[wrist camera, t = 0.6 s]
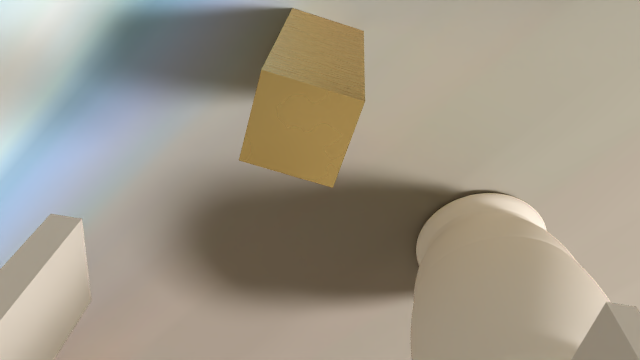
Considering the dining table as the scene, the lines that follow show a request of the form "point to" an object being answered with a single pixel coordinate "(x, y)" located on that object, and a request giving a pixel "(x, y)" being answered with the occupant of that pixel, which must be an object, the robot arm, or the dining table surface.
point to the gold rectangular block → (307, 99)
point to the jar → (498, 286)
